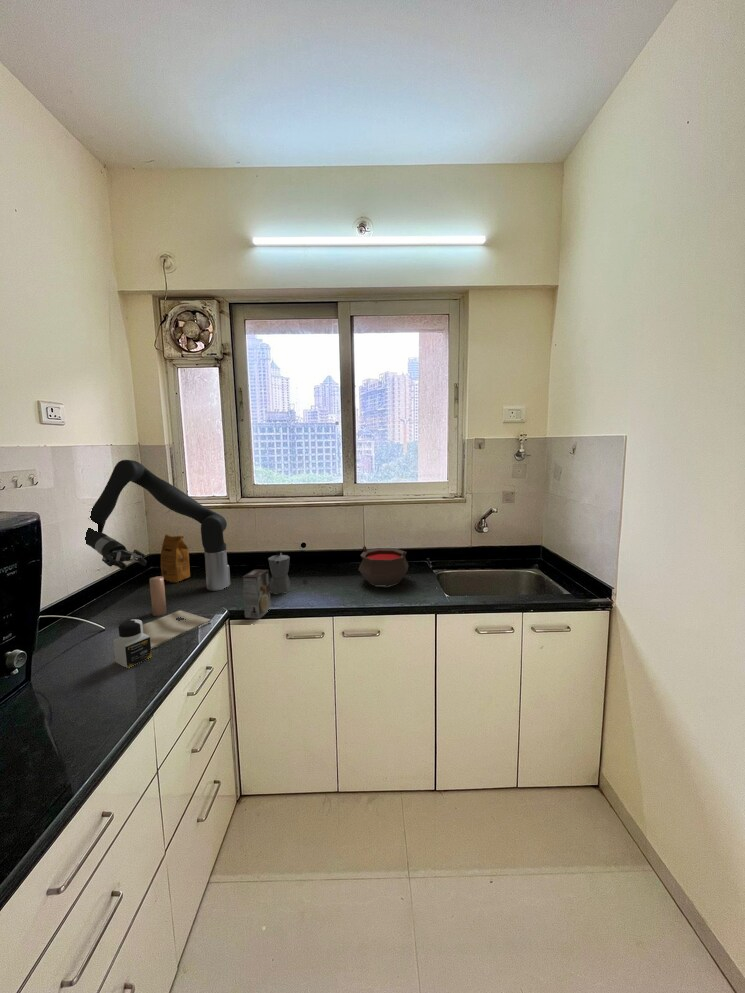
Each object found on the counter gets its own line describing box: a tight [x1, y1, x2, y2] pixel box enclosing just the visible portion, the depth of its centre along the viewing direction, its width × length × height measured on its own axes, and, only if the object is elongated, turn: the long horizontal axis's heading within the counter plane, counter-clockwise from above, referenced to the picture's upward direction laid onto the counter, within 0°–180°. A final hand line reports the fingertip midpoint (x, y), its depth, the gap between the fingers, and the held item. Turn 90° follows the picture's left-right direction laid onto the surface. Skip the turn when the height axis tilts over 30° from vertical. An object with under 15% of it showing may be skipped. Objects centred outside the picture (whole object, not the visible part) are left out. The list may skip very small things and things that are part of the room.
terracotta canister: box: [149, 575, 168, 617], centre depth 150 cm, size 5×5×14 cm
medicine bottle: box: [113, 618, 153, 669], centre depth 117 cm, size 7×7×12 cm
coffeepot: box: [267, 550, 292, 594], centre depth 173 cm, size 15×9×18 cm, turn 8°
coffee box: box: [242, 568, 272, 620], centre depth 149 cm, size 9×6×16 cm
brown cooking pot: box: [358, 544, 409, 586], centre depth 181 cm, size 24×24×16 cm
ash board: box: [142, 610, 211, 649], centre depth 137 cm, size 22×18×1 cm
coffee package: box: [160, 534, 191, 583], centre depth 190 cm, size 10×12×22 cm
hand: (135, 565), depth 155 cm, fingers open, 8 cm apart
